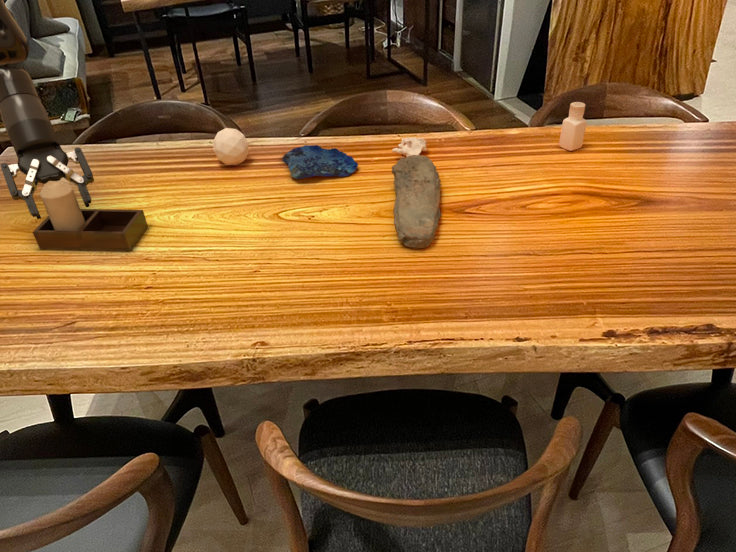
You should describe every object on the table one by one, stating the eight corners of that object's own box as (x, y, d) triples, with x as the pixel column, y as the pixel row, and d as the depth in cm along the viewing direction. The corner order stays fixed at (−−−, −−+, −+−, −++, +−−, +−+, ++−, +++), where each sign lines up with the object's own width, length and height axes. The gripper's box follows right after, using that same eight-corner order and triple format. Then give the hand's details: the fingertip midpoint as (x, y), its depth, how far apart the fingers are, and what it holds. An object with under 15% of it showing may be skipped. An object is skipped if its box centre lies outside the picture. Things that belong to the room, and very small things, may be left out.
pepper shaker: (569, 142, 144) (577, 99, 137) (582, 147, 141) (591, 104, 135) (557, 146, 142) (564, 103, 136) (570, 152, 140) (578, 108, 133)
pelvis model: (402, 130, 142) (430, 131, 140) (404, 148, 145) (431, 149, 143) (390, 143, 137) (419, 144, 134) (392, 162, 139) (420, 163, 137)
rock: (295, 185, 131) (294, 176, 129) (277, 156, 143) (276, 147, 142) (361, 174, 134) (361, 166, 133) (338, 147, 146) (337, 138, 145)
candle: (94, 229, 118) (76, 179, 111) (73, 243, 114) (52, 192, 108) (73, 224, 120) (53, 174, 113) (51, 237, 116) (29, 187, 110)
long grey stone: (386, 256, 111) (442, 259, 111) (388, 231, 108) (445, 233, 108) (392, 164, 136) (437, 166, 136) (393, 141, 132) (440, 143, 132)
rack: (39, 249, 115) (32, 232, 112) (62, 225, 121) (55, 208, 119) (130, 251, 113) (124, 233, 111) (148, 226, 120) (143, 209, 117)
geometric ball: (242, 176, 142) (243, 157, 134) (208, 164, 140) (207, 144, 133) (253, 149, 144) (254, 128, 136) (219, 136, 142) (218, 115, 135)
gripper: (-19, 126, 106) (17, 214, 107) (67, 109, 111) (102, 193, 112) (-8, 146, 113) (25, 229, 114) (72, 129, 118) (105, 209, 119)
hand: (63, 211), depth 113 cm, fingers open, 8 cm apart
